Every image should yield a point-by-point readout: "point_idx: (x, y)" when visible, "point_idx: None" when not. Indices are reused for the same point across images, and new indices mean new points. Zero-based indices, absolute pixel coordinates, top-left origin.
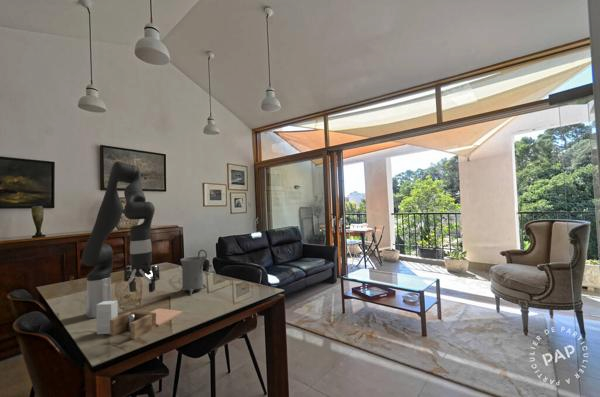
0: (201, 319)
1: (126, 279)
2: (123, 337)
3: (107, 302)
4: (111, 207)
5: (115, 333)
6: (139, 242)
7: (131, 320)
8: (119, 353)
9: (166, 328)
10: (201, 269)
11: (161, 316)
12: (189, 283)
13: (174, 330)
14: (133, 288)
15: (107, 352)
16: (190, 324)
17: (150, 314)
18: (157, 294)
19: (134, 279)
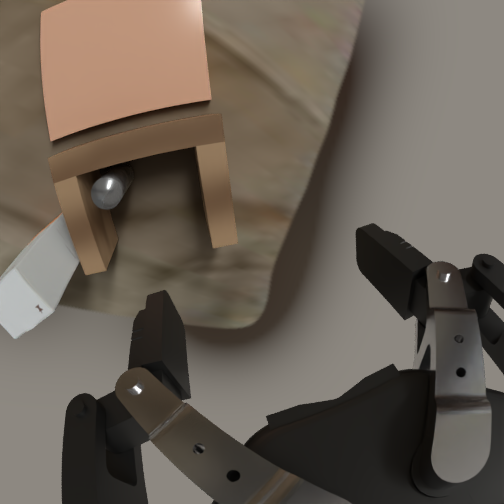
0: (338, 8)
1: (139, 447)
2: (168, 228)
3: (14, 307)
4: None
5: (115, 234)
6: None
7: (124, 192)
8: (269, 282)
9: (267, 103)
10: None
11: (142, 41)
12: None
13: (314, 107)
14: (177, 331)
15: (228, 296)
16: (333, 50)
17: (208, 140)
18: None
19: (161, 397)
